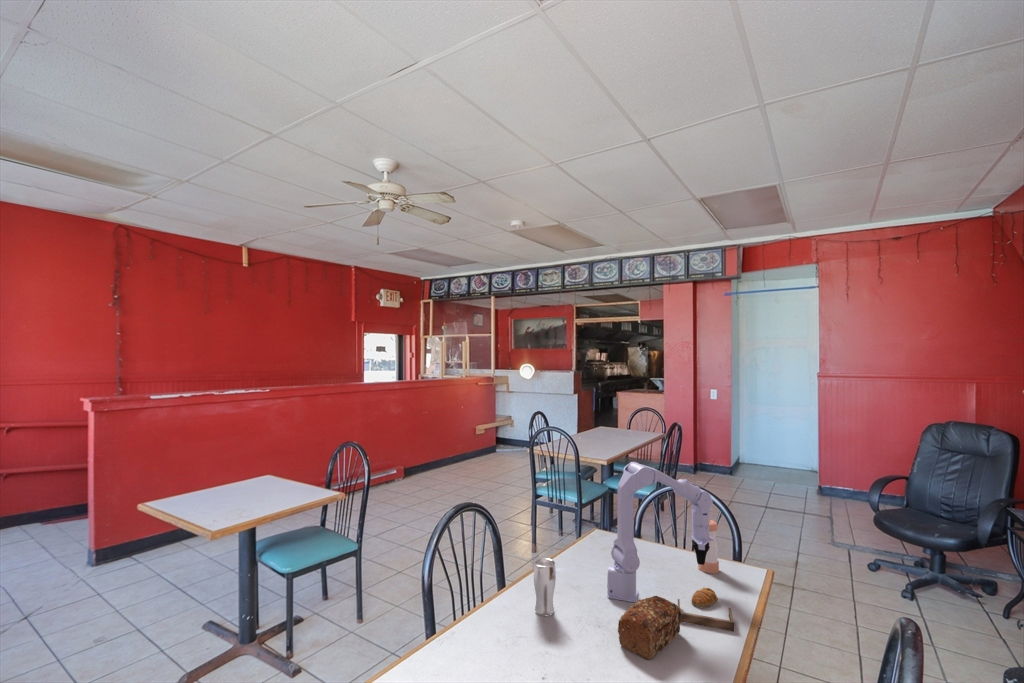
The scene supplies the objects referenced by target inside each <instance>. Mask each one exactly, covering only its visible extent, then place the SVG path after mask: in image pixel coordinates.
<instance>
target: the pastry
mask: <svg viewBox="0 0 1024 683" xmlns="http://www.w3.org/2000/svg"><path fill="white" fill-rule="evenodd" d="M691 597H692V598H691V604H692V605H693V606H695V607H698V608H701V609H703V608H710V607H712V606H715V605H716V604H717V603H718V602H719V598H718V595H717V594H716V592H715V591H714V590H713V589H712V588H710V587H702V588H700V589H698V590H696V591H694V593H693V594H692V596H691ZM714 604H715V605H714Z"/></svg>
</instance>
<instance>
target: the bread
mask: <svg viewBox="0 0 1024 683" xmlns="http://www.w3.org/2000/svg"><path fill="white" fill-rule="evenodd" d="M681 612H682V610H681V607H680V608H679V607H678V604H676V603H674V602H672V601H670V600H668V599H666V598H664V597H661V596H658V595H653V596H650V597H646V598H643V599H640V600H639V601H638V600H637V602H636V603H635V604H633V605H632V606H629V607H628V608H627V610H626V611H625V612H624V613H623V614H622V615H621V616H620V618H619V620H618V623H617V624H618V626H617V633H618V639H619V645H621V646H622V648H624V649H625V650H627V651H628V652H631V653H633V654H635V655H636V656H639V657H641V658H642V659H645V660H650V659H653V658H654V656H655V655H657V654H659V653H660V652H661V651H663V650H664V649H665V648H666V647H667V646H669V644H671V642H672V641H673V640H675V639H676V637H677V636H678V635H679V634H680V632H681V625H682V622H681V621H680V620H681Z"/></svg>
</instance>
